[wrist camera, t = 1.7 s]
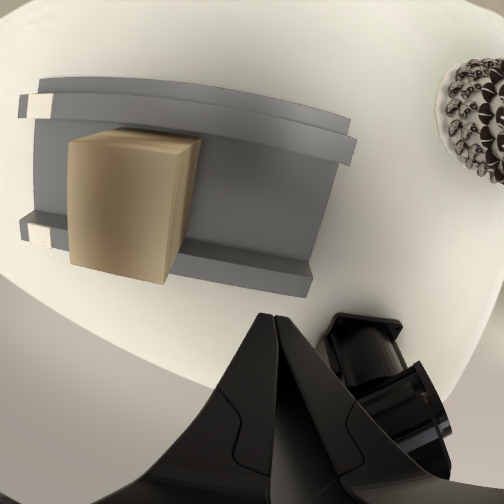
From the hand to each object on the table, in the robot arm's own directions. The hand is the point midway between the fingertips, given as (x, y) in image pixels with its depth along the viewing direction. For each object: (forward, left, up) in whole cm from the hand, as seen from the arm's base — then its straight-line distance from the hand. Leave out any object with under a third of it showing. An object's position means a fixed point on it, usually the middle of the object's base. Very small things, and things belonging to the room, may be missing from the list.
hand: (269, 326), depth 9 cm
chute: (+6, 0, -12) cm, 14 cm away
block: (+7, 0, -11) cm, 13 cm away
